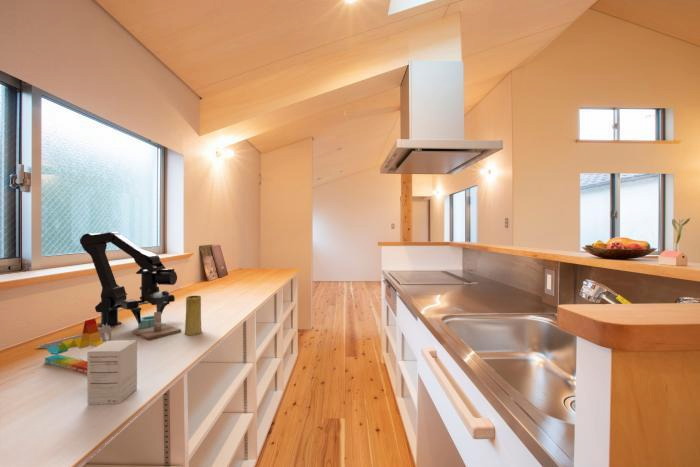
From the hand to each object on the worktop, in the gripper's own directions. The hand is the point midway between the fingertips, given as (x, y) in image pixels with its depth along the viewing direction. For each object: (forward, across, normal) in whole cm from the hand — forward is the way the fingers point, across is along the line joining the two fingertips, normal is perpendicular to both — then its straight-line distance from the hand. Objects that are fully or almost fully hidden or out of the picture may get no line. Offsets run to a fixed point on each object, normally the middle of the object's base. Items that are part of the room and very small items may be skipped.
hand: (149, 321), depth 134 cm
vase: (+2, +5, -24) cm, 25 cm away
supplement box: (+2, -33, -53) cm, 62 cm away
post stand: (+2, -3, -13) cm, 13 cm away
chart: (+2, -31, -29) cm, 43 cm away
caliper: (+2, -25, -2) cm, 25 cm away
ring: (+2, 0, 0) cm, 2 cm away
